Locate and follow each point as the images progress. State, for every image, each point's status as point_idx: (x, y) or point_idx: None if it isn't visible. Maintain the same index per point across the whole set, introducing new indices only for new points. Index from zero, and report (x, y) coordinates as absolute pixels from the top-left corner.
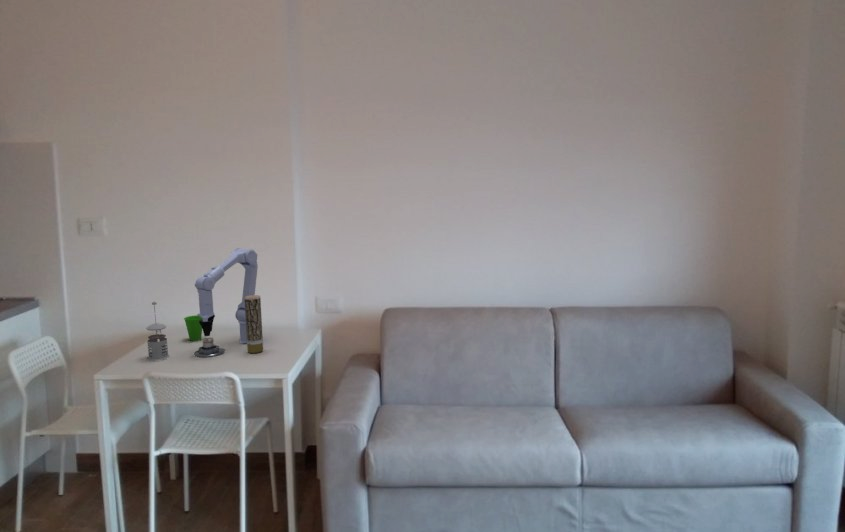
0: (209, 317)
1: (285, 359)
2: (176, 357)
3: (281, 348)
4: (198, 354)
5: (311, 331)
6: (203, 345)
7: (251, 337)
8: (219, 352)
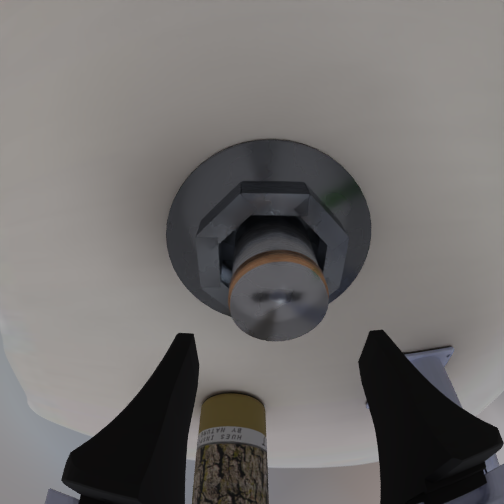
0: (401, 490)
1: None
2: (214, 20)
3: None
4: (221, 179)
5: None
6: (252, 243)
7: (196, 462)
8: None
